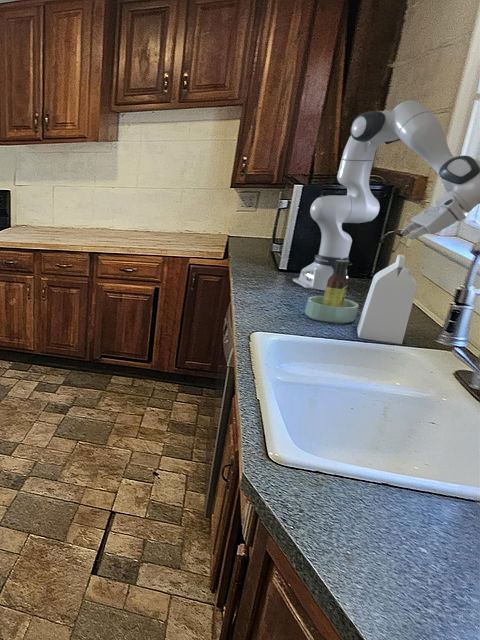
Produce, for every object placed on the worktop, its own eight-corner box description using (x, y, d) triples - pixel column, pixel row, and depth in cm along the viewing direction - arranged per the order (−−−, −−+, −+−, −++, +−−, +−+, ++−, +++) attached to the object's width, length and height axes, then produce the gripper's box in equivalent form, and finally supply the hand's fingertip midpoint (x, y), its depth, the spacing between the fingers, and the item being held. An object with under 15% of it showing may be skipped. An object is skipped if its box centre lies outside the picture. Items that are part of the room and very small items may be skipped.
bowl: (295, 312, 197) (298, 296, 194) (334, 311, 198) (338, 295, 196) (322, 325, 182) (326, 308, 180) (364, 324, 184) (369, 307, 181)
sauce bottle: (342, 319, 186) (357, 263, 179) (323, 317, 187) (336, 262, 180) (335, 313, 192) (349, 259, 185) (316, 312, 193) (329, 258, 186)
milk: (356, 327, 179) (377, 251, 170) (398, 333, 174) (421, 254, 164) (358, 337, 170) (380, 257, 160) (401, 344, 164) (427, 261, 155)
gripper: (434, 197, 180) (392, 225, 187) (455, 202, 163) (407, 232, 170) (446, 212, 180) (403, 239, 187) (468, 218, 163) (420, 247, 170)
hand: (405, 236), depth 178 cm, fingers open, 8 cm apart
